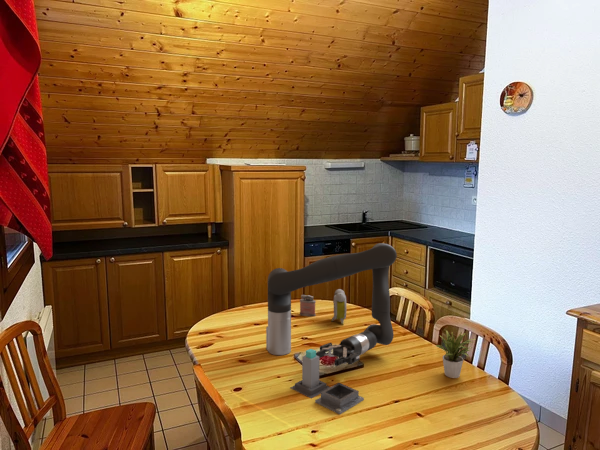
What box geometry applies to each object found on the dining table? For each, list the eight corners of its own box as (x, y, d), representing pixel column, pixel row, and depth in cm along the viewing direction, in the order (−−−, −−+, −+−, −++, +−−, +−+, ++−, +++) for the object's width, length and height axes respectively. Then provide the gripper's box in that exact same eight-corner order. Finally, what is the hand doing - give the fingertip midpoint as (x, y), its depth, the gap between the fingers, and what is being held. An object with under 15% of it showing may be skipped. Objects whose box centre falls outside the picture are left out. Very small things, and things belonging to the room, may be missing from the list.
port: (315, 403, 146) (315, 392, 145) (339, 389, 154) (339, 380, 154) (339, 415, 139) (340, 404, 138) (363, 400, 147) (364, 390, 147)
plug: (302, 387, 155) (302, 350, 153) (310, 383, 158) (310, 347, 156) (311, 391, 152) (311, 354, 151) (319, 387, 155) (319, 350, 153)
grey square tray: (289, 388, 155) (289, 383, 155) (309, 378, 162) (309, 373, 162) (311, 399, 148) (311, 394, 148) (331, 388, 155) (331, 383, 155)
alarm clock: (346, 326, 214) (346, 294, 212) (331, 326, 214) (332, 294, 212) (344, 317, 226) (344, 287, 224) (330, 317, 226) (330, 287, 224)
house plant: (468, 389, 155) (471, 343, 153) (427, 379, 162) (429, 334, 160) (477, 373, 167) (480, 330, 165) (438, 364, 174) (440, 322, 172)
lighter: (316, 314, 230) (316, 295, 228) (314, 316, 227) (314, 297, 225) (301, 312, 232) (301, 293, 231) (298, 315, 229) (298, 295, 228)
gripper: (339, 331, 176) (310, 343, 164) (370, 341, 166) (342, 355, 154) (339, 350, 177) (310, 363, 165) (370, 361, 167) (341, 376, 155)
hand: (325, 359), depth 160 cm, fingers open, 8 cm apart
